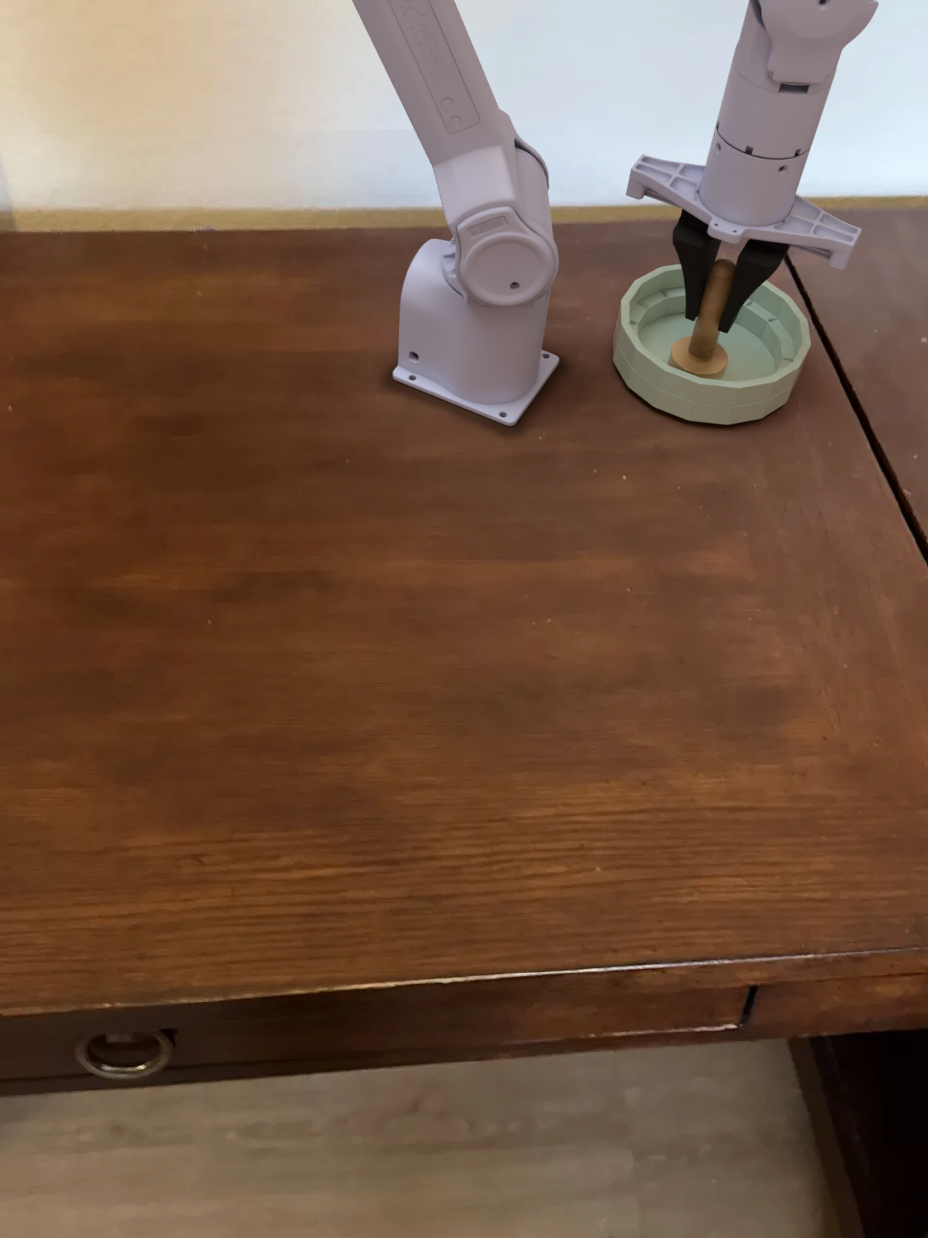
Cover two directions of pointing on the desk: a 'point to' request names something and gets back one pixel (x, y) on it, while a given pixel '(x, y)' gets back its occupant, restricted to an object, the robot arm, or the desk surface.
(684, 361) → the wooden stamp
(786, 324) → the bowl
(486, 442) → the desk surface
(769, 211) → the robot arm
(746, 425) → the desk surface
